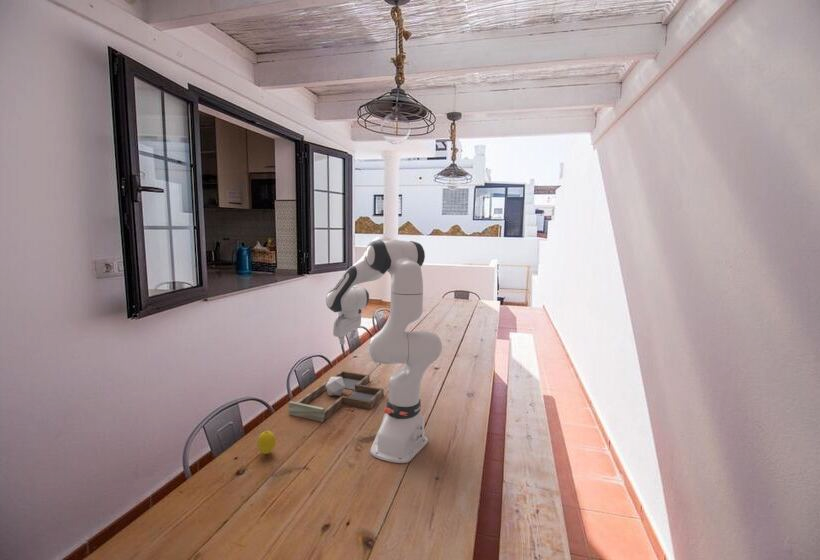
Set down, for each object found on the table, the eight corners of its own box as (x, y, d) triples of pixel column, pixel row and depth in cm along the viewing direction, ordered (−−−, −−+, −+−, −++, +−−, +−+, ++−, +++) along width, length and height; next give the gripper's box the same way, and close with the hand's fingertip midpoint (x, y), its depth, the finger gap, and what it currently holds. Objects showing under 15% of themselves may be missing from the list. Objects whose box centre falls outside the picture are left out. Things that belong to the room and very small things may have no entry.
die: (335, 401, 164) (348, 382, 166) (319, 390, 165) (332, 371, 167) (338, 400, 172) (351, 381, 174) (323, 389, 173) (335, 371, 175)
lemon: (265, 461, 120) (264, 437, 119) (254, 455, 123) (253, 432, 122) (279, 452, 125) (279, 429, 124) (268, 447, 128) (267, 424, 127)
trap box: (351, 428, 142) (352, 415, 141) (288, 414, 150) (288, 402, 150) (393, 385, 181) (393, 375, 181) (341, 376, 190) (341, 366, 190)
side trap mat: (368, 406, 159) (368, 406, 159) (343, 402, 162) (343, 401, 162) (378, 396, 169) (378, 395, 169) (355, 391, 173) (355, 391, 173)
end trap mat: (354, 390, 174) (354, 389, 174) (331, 386, 178) (331, 385, 178) (364, 381, 184) (364, 381, 184) (342, 378, 188) (342, 377, 188)
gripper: (342, 317, 164) (342, 348, 166) (363, 308, 183) (363, 336, 185) (329, 316, 166) (329, 346, 168) (351, 307, 185) (351, 334, 187)
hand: (347, 341), depth 176 cm, fingers open, 8 cm apart
